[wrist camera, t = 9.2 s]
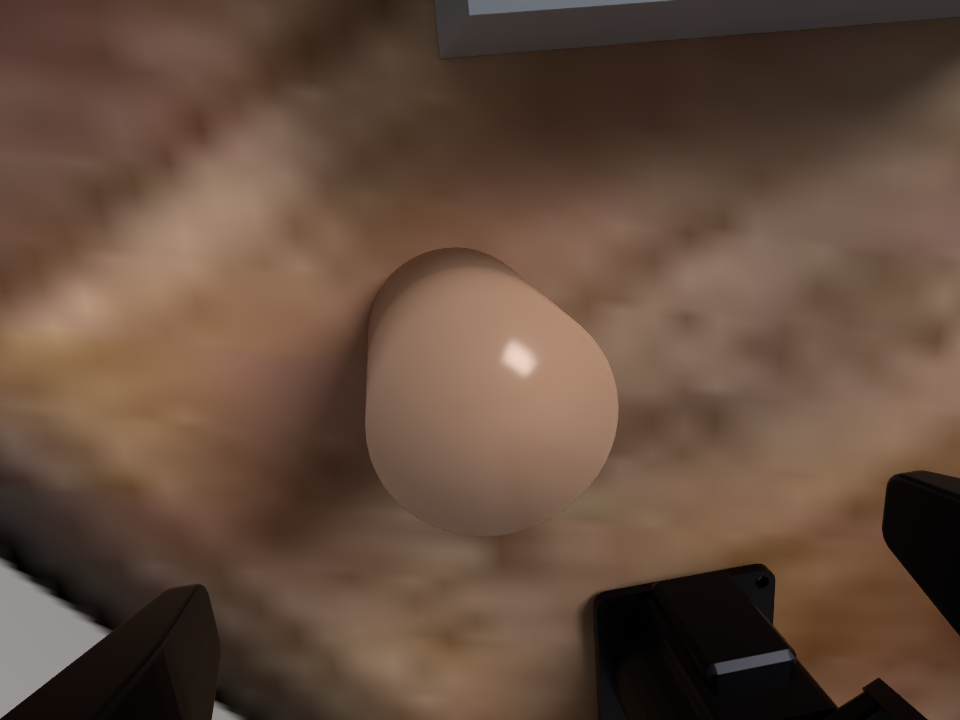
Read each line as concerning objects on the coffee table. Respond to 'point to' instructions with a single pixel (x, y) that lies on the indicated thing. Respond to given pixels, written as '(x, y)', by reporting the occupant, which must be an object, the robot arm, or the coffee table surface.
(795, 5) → the box
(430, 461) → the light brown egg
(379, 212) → the coffee table surface
